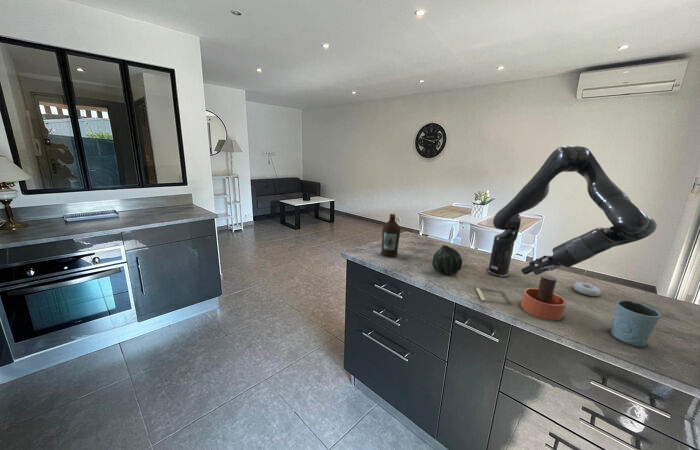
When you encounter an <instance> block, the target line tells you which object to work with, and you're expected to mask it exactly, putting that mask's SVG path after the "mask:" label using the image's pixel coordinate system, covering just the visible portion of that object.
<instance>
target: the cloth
mask: <svg viewBox="0 0 700 450" xmlns="http://www.w3.org/2000/svg"><path fill="white" fill-rule="evenodd" d="M475 290H476V292H477V294H478V296H479V298H480V299H481V301H483V302H487V299H486V298H485V296H484V294H483V292H482V290H481V288H479V287H476V288H475Z"/></svg>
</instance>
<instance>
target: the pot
mask: <svg viewBox="0 0 700 450" xmlns="http://www.w3.org/2000/svg"><path fill="white" fill-rule="evenodd" d="M537 292H538V288H537V287H527V288H525V289H524V290H523V293H522V297H521V301H520V306H521V308H522V309H523V310H524V311H525V312H527V313H529V314H530V315H532V316H535V317H537V318H541V319H544V320H548V321H549V320H550V321H559V320H562V319H563V318H564V314H565V310H566V306H567V300H566V299H565V298H563V297H562V296H561V295H559V294H557V293H556V292H555V293H554V292H553V296H552V300H551V304H548V303H544V302H541V301H538V300H536V296H537Z"/></svg>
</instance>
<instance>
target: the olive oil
mask: <svg viewBox="0 0 700 450" xmlns="http://www.w3.org/2000/svg"><path fill="white" fill-rule="evenodd" d="M400 237H401V226H400V225H399V224H398V223H397V221H396V213H389V220H388V221H387V222H385V224H383V226H382V230H381V255H382V256H383V257H388V258H395V257H397V256H398V250H399V243H400Z"/></svg>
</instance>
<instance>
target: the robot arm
mask: <svg viewBox="0 0 700 450" xmlns="http://www.w3.org/2000/svg"><path fill="white" fill-rule="evenodd" d="M561 173H577V174H578V175H580V176H581V177H583V179H584V180H585V182H586V191H587V195H588V196H589V198H590V199H591V201H592V202H593V203H594V204H595V205H596V206H597V207H598V208H599V209H600V210H601V211H602V212H603V213H604V215H605V216H606V218H607V220H608V221H609V222H610V223H611V226H608V227H596V228H593V229H591V230H588V231H587V232H585V233H583V234H581V235H578V236H576V237H573V238H571V239H569V240H567V241H565V242H563V243H561V244H559V245H556V246H555V247H553V248H552V250H551V251H552V253H553V254H552V255H542V256H541V257H539V258H537V259H535V260H532V261H530V262H529V263H528V265H526V266H524V267H523V268H521V269H520V271H521V273H522V274H523V275H525V276H526V275H528V274H530V273H532V272H533V274H534V275H535V276H539V275H541V274H543V273H546V272H549V271H551V272H552V271H554V270H556V269H559V268H561V267H565V268H570V267H573V266H575V265H577V264H580V263H582V262H585V261H586V260H589V259H591V258H593V257H595V256H597V255H599V254H601V253H604V252H605V251H608V250H611V249H612V248H615V247H618V246H623V245H627V244H631V243H634V242H638V241H641V240H643V239H646V238H648V237H649V236H651V235H652V234H654V233H655V232H656V230H657V222H656V220H655V219H654V218H652V217H651V216H649V215H648V214H647V213H645V212H644V211H642V210H641V209H640V208H639V207H638V206H636V204H634V203H633V202H632V201H631V198H630V197H629V196H628V195H627V194H626V192H624V191H623V190H622V189H621V188H620V187H619V186H618V185H617V184H615V182H614V181H613V180H611V178H610V177H609V175H608V174H607V172H606V171H605V170H604V169H603V167H602V166H601V164H600V163H599V162H598V160H597V159H596V157H595V155H594V154H593V152H592V151H591V150H590V149H589V148H587V147H585V146H581V145H580V146H579V145H563V146H559V147H557V148H555V149H554V150H553V151H552V152H551V154H550V155H549V156H548V157H547V159H545V161H544V162H543V163H542V165H541V166H540V168H539V169H538V171H537V172H536V173H535V174H534V175H533V176H532V177H531V179H529V181H528V182H527V183H526V184H525V185H523V187H522V188H521V189H520V190H519V192H518V193H517V194H516V195H515V196H513V198H512V199H511V200H510V201H509V202H508V203H507V204H505V205H504V206H503V207H502V208H501V209H500V210H498V212H496V213H495V215H494V217H493V219H492V225H493V227H494V228H495V229H497V230H501V231H502V232H500V233H498V234H496V235H494V237H493V242H492V248H491V252H490V259H489V263H488V264H489V265H488V267H487V273H488V274H489V275H492V276H495V277H500V278H505V277H509V270H510V265H511V261H512V256H513V251H514V248H515V247H514V246H515V242H516V241H517V239H518V235H519V231H520V228H521V225H522V224H521V223H522V217H521V215H520V214H522V213H524V212H527V211H530V210H531V209H534V208H535V207H537V206H538V205H539V204H540V203H542V202H543V201H544V200H545V199H546V198H547V197H548V195H549V193H550V183H551V182H552V181H553V180H554V179H555V178H556V177H557V176H558V175H560V174H561Z"/></svg>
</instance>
